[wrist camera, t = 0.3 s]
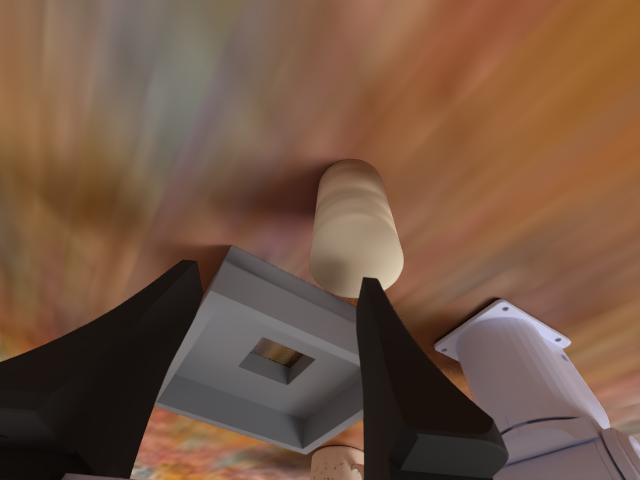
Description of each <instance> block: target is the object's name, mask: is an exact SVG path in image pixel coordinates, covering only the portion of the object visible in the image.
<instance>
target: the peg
mask: <svg viewBox="0 0 640 480" xmlns="http://www.w3.org/2000/svg"><path fill="white" fill-rule="evenodd" d="M402 268H403V253H402V249H401V246H400V242H399V239H398V235H397V232H396V228H395V225H394V221H393V217H392V214H391V210H390V207H389V203H388V200H387V196H386V193H385V189H384V185H383V182H382V179H381V176H380V174H379V173H378V171H377V170H376V169H375V168H374V167H373V166H372V165H370V164H368V163H367V162H364V161H361V160H356V159H347V160H342V161H339V162H337V163H335V164H333V165H332V166H330V167H329V168H328V169H327V170H326V171H325V172H324V174H323V175H322V177H321V179H320V182H319V188H318V196H317V204H316V212H315V220H314V229H313V237H312V245H311V253H310V270H311V273H312V275H313V277H314V279H315V280H316V281H317V283H318V284H319V285H320V286H321V287H323V288H324V289H325V290H327V291H329V292H331V293H333V294H335V295H339V296H342V297H348V298H359V294H360V289H361V284H362V279H363V277H370V278H377V279H378V280H379V281H380V284H381V286H382V288H383V290H386V289H387V288H389V287H390V286H391V285H392V284H393V283H394V282H395V281H396V280H397V278H398V277H399V275H400V273H401V271H402Z"/></svg>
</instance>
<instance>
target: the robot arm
mask: <svg viewBox="0 0 640 480" xmlns="http://www.w3.org/2000/svg"><path fill="white" fill-rule="evenodd" d="M202 298H203V291H202V286H201V280H200V275H199V270H198V265H197V261H191V260H182V261H180V262H179V263H178V264H176V265H175V266H174V267H172V268H171V269H170V270H168V271H167V272H166V273H164V274H163V275H162V276H160V277H159V278H158V279H156V280H155V281H154V282H152V283H151V284H150V285H148V286H147V287H145V288H144V289H143V290H141V291H140V292H138V293H137V294H135V295H134V296H132V297H131V298H129V299H128V300H127V301H125V302H124V303H122V304H121V305H119V306H117V307H116V308H114V309H113V310H111V311H109V312H108V313H106V314H104V315H102V316H101V317H99V318H97V319H95V320H94V321H92V322H90V323H88V324H86V325H84V326H82V327H80V328H78V329H76V330H74V331H72V332H70V333H68V334H66V335H64V336H62V337H60V338H58V339H56V340H54V341H51V342H49V343H47V344H45V345H42V346H40V347H38V348H35V349H33V350H31V351H28V352H26V353H23V354H21V355H18V356H16V357H13V358H10V359H8V360H5V361H2V362H0V480H133V479H130V476H131V473H132V469H133V466H134V463H135V460H136V457H137V453H138V450H139V447H140V444H141V441H142V438H143V435H144V432H145V430H146V427H147V424H148V421H149V418H150V415H151V413H152V410H153V407H154V405H155V402H156V399H157V397H158V394H159V391H160V389H161V386H162V384H163V381H164V379H165V376H166V374H167V372H168V369H169V367H170V365H171V363H172V361H173V359H174V357H175V355H176V353H177V351H178V350H179V348H180V346H181V344H182V342H183V340H184V338H185V336H186V334H187V332H188V331H189V329H190V327H191V325H192V323H193V321H194V319H195V317H196V314H197V312H198V309H199V306H200V303H201V301H202ZM356 334H357V343H358V351H359V360H360V368H361V376H362V387H363V423H364V480H640V444H639V443H638V442H637V441H636V440H635V439H634V438H633V437H631V436H630V435H627V434H625V433H622V432H620V431H619V430H617V429H615V428H610V424H609V421H608V417H607V415H606V413H605V411H604V409H603V407H602V406H601V404H600V403H599V401H598V400H597V399H596V397H595V396H594V394H593V393H592V391H591V390H590V388H589V387H588V385H587V384H586V383H585V381H584V380H583V378H582V377H581V375H580V374H579V372H578V371H577V370H576V368H575V367H574V365H573V364H572V362H571V361H570V359H569V358H568V357H567V355H566V354H565V352H564V351H563V348H565V347H567V346H569V345H570V344H571V341H570V340H569V339H568V338H567V337H565V336H564V335H562V334H560V333H559V332H557V331H555V330H554V329H552V328H550V327H549V326H547V325H545V324H544V323H542V322H540V321H539V320H537V319H535V318H534V317H532V316H530V315H529V314H527V313H525V312H524V311H522V310H520V309H519V308H517V307H515V306H514V305H512V304H510V303H508V302H507V301H505V300H503V299H499V300H497V301H495V302H493V303H492V304H491V305H489V306H488V307H486V308H485V309H484V310H482V311H481V312H479V313H478V314H476V315H475V316H474V317H472V318H471V319H469V320H468V321H467V322H465V323H464V324H462V325H461V326H459V327H458V328H457V329H455V330H454V331H452V332H451V333H450V334H448V335H447V336H445V337H444V338H442V339H441V340H440V341H438V342H437V343H435V345H434V348H435V350H436V351H438V352H440V353H442V354H444V355H446V356H448V357H450V358H452V359H454V360H457V361H459V362H460V365H461V367H462V370H463V373H464V376H465V378H466V381H467V384H468V387H469V390H470V392H471V395H472V398H473V401H474V402H472V401H471V400H470V399H469V398H468V397H467V396H466V395H464V394H463V393H462V392H461V391H460V390H459V389H458V388H457V387H456V386H455V385H454V384H453V383H452V382H451V381H450V380H449V379H448V378H447V377H446V376H445V375H444V374H443V373H442V372H441V371H440V370H439V369H438V368H437V367H436V366H435V364H434V363H433V362H432V361H431V360H430V359H429V358H428V356H427V355H426V354H425V353H424V352H423V350H422V349H421V348H420V347H419V345H418V344H417V343H416V341H415V340H414V339H413V337H412V336H411V335H410V333H409V332H408V330H407V329H406V327H405V326H404V324H403V323H402V321H401V320H400V318H399V316H398V315H397V313H396V312H395V310H394V308H393V306H392V305H391V303H390V301H389V299H388V297H387V296H386V294H385V292H384V290H383V288H382V286H381V284H380V281H379V280H378V279H377V278H370V277H363V279H362V284H361V289H360V294H359V298H358V303H357V308H356Z"/></svg>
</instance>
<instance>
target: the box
mask: <svg viewBox="0 0 640 480" xmlns="http://www.w3.org/2000/svg"><path fill="white" fill-rule="evenodd" d="M356 308H357V307H356V306H354V305H352V304H349V303H347V302H345V301H343V300H341V299H339V298H337V297H335V296H333V295H331V294H329V293H327V292H325V291H323V290H321V289H319V288H317V287H315V286H313V285H311V284H309V283H307V282H305V281H303V280H301V279H299V278H297V277H295V276H293V275H291V274H289V273H287V272H285V271H283V270H281V269H279V268H277V267H275V266H273V265H271V264H269V263H267V262H265V261H263V260H261V259H259V258H257V257H255V256H252V255H250V254H248V253H246V252H244V251H242V250H240V249H238V248H236V247H234V246H231V248H230V250H229V251H228V253H227V255H226V256H225V258H224V260H223V262H222V263H221V265H220V267H219V268H218V270H217V272H216V274H215V275H214V277H213V279H212V281H211V282H210V284H209V286H208V287H207V289H206V291H205V293H204V294H203V298H202V301H201V303H200V306H199V309H198V312H197V314H196V317H195V319H194V321H193V323H192V325H191V327H190V329H189V331H188V332H187V334H186V336H185V338H184V340H183V342H182V344H181V346H180V348H179V350H178V351H177V353H176V355H175V357H174V359H173V361H172V363H171V365H170V367H169V369H168V372H167V374H166V376H165V379H164V381H163V384H162V386H161V389H160V391H159V394H158V397H157V399H156V402H155V405H154V407H157V408H160V409H163V410H166V411H169V412H172V413H176V414H179V415H182V416H185V417H188V418H191V419H195V420H198V421H201V422H204V423H207V424H210V425H213V426H217V427H220V428H223V429H226V430H229V431H232V432H236V433H239V434H242V435H245V436H248V437H251V438H254V439H258V440H261V441H264V442H267V443H270V444H273V445H277V446H280V447H283V448H286V449H289V450H292V451H295V452H299V453H302V454H305V455H306V454H308V453H309V452H311V451H313V450H314V449H316V448H317V447H319V446H320V445H322V444H324V443H325V442H327V441H328V440H330V439H331V438H333V437H334V436H336V435H338V434H339V433H341V432H342V431H344V430H345V429H347V428H348V427H350V426H352V425H353V424H355V423H356V422H358V421H359V420H361V419H362V418H363V387H362V376H361V368H360V360H359V351H358V343H357V334H356ZM262 337H264V338H266V339H269V340H271V341H274V342H276V343H278V344H281V345H283V346H286V347H288V348H290V349H293V350H295V351H297V352H300V353H302V354H304V355H303V356H302V357H301V358H300V359H299V360H298V361H297V362H296V363H295V364H293V365H292V366H291V367H290V368H289V367H286V366H284V365H281V364H279V363H276V362H274V361H271V360H269V359H266V358H264V357H261V356H259V355H256V354H254V353H251V352H250V351H251V350H252V349H253V348H254V347H255V346H256V344H257V343H258V342H259V341H260V340H261V338H262Z"/></svg>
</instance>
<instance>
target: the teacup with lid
mask: <svg viewBox="0 0 640 480" xmlns="http://www.w3.org/2000/svg"><path fill="white" fill-rule="evenodd" d="M310 480H364V452H363V451H361V450H359V449H356V448H352V447H347V446H330V447H325V448H322V449H319V450H317V451H316V452H315V453H314V454H313V456H312V462H311V478H310Z"/></svg>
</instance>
